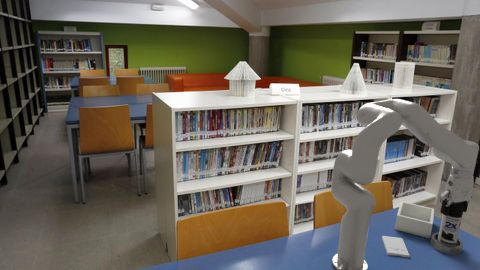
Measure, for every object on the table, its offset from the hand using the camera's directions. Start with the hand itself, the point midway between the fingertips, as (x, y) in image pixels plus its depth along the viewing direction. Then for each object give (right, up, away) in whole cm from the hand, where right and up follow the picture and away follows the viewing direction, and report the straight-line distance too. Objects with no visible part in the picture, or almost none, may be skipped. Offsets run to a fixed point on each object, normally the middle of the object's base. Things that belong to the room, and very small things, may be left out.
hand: (453, 212), depth 141 cm
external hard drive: (-22, -16, +3) cm, 27 cm away
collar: (0, -15, +4) cm, 16 cm away
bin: (-6, -10, +20) cm, 23 cm away
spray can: (0, -15, +4) cm, 16 cm away
